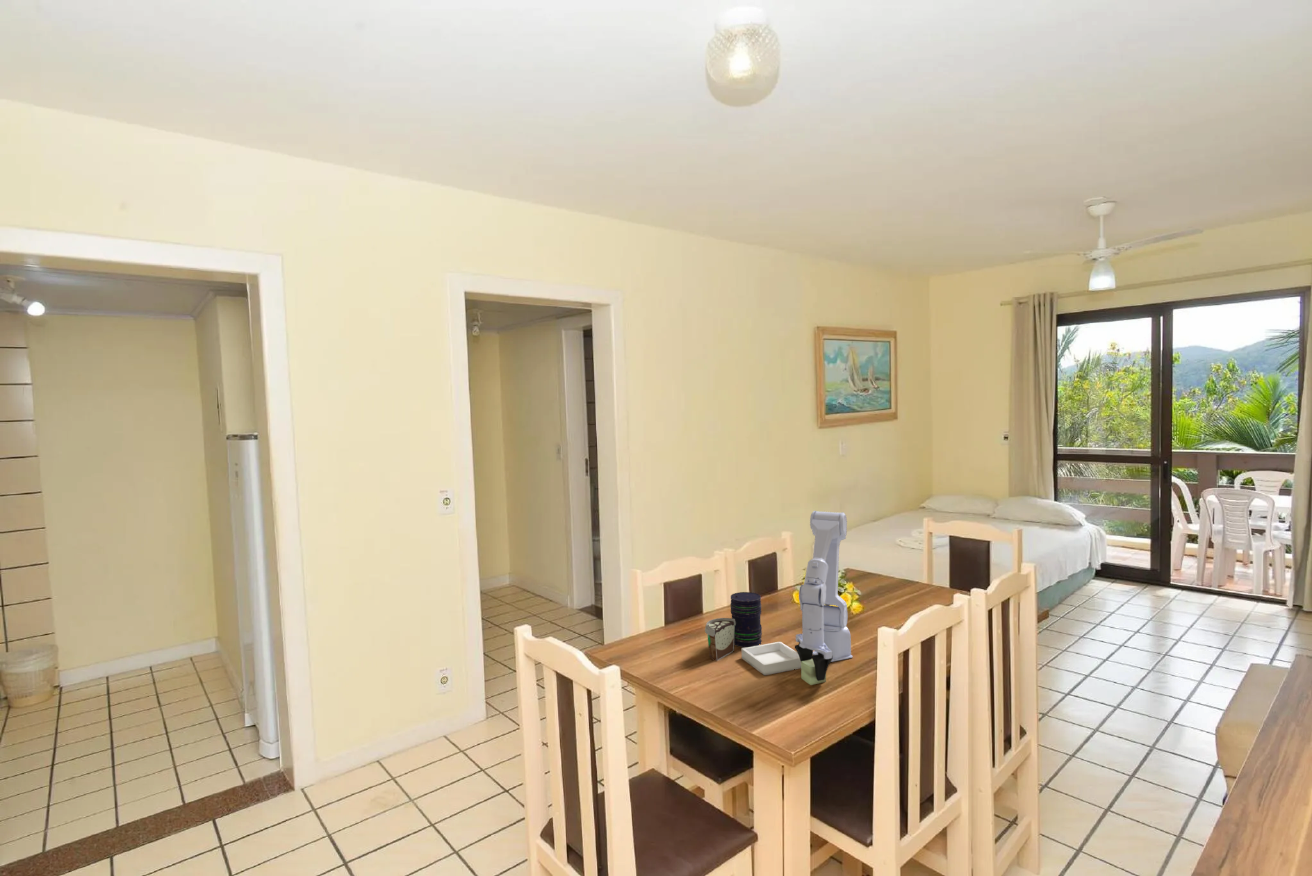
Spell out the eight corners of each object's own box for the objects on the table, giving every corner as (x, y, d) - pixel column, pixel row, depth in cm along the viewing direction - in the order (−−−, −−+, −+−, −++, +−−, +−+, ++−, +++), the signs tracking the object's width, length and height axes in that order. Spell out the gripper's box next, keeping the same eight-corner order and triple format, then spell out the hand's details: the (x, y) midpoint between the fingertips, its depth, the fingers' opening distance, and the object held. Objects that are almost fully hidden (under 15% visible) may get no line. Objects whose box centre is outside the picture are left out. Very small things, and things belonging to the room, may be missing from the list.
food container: (719, 645, 207) (719, 614, 207) (736, 649, 203) (735, 618, 203) (697, 658, 198) (696, 625, 197) (714, 662, 194) (713, 629, 193)
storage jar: (761, 636, 214) (760, 592, 213) (763, 647, 204) (762, 601, 204) (730, 636, 215) (729, 591, 214) (731, 647, 205) (730, 601, 205)
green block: (816, 675, 183) (816, 658, 183) (826, 682, 179) (825, 664, 179) (801, 678, 181) (801, 661, 181) (810, 685, 177) (810, 667, 177)
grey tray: (780, 651, 201) (780, 641, 201) (805, 667, 189) (805, 657, 189) (741, 658, 197) (741, 648, 196) (764, 675, 184) (764, 665, 184)
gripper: (786, 621, 185) (786, 667, 185) (816, 637, 171) (816, 688, 172) (807, 617, 187) (807, 663, 188) (838, 633, 174) (838, 683, 174)
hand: (813, 675), depth 180 cm, fingers open, 6 cm apart
